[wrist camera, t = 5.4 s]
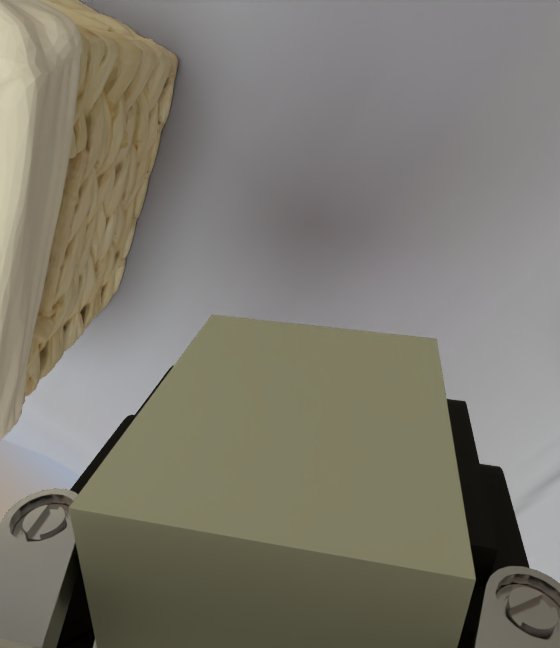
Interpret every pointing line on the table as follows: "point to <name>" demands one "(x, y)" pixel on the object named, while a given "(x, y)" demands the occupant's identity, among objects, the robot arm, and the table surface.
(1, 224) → the storage basket
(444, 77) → the table surface
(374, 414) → the sage block
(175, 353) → the table surface
